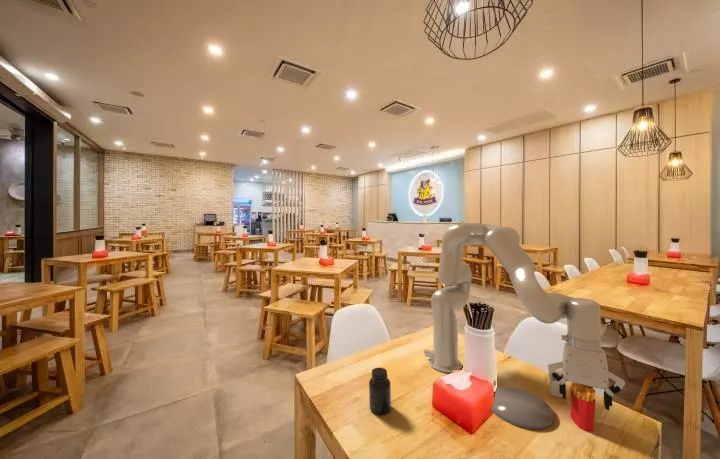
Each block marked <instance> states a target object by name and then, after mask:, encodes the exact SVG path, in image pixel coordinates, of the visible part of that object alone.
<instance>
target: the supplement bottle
mask: <svg viewBox="0 0 720 459" xmlns="http://www.w3.org/2000/svg"><path fill="white" fill-rule="evenodd" d="M391 390H392V389H391V380H390V379H389V378H388V370H387V369H386V368H384V367H375V368H372V370H371V378H370V379H369V382H368V394H369V395H368V400H369V403H368V404H369V410H370V411H371V413H373V414H374V415H377V416H384V415H386V414H388V413H390V411H391V409H392V393H391Z"/></svg>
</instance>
